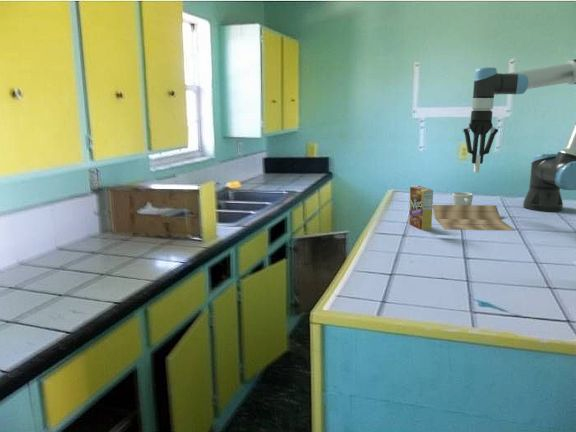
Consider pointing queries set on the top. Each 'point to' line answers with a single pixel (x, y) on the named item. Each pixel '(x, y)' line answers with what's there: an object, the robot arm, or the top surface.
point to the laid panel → (474, 224)
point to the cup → (462, 198)
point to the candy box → (420, 207)
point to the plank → (466, 212)
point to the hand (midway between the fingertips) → (476, 171)
